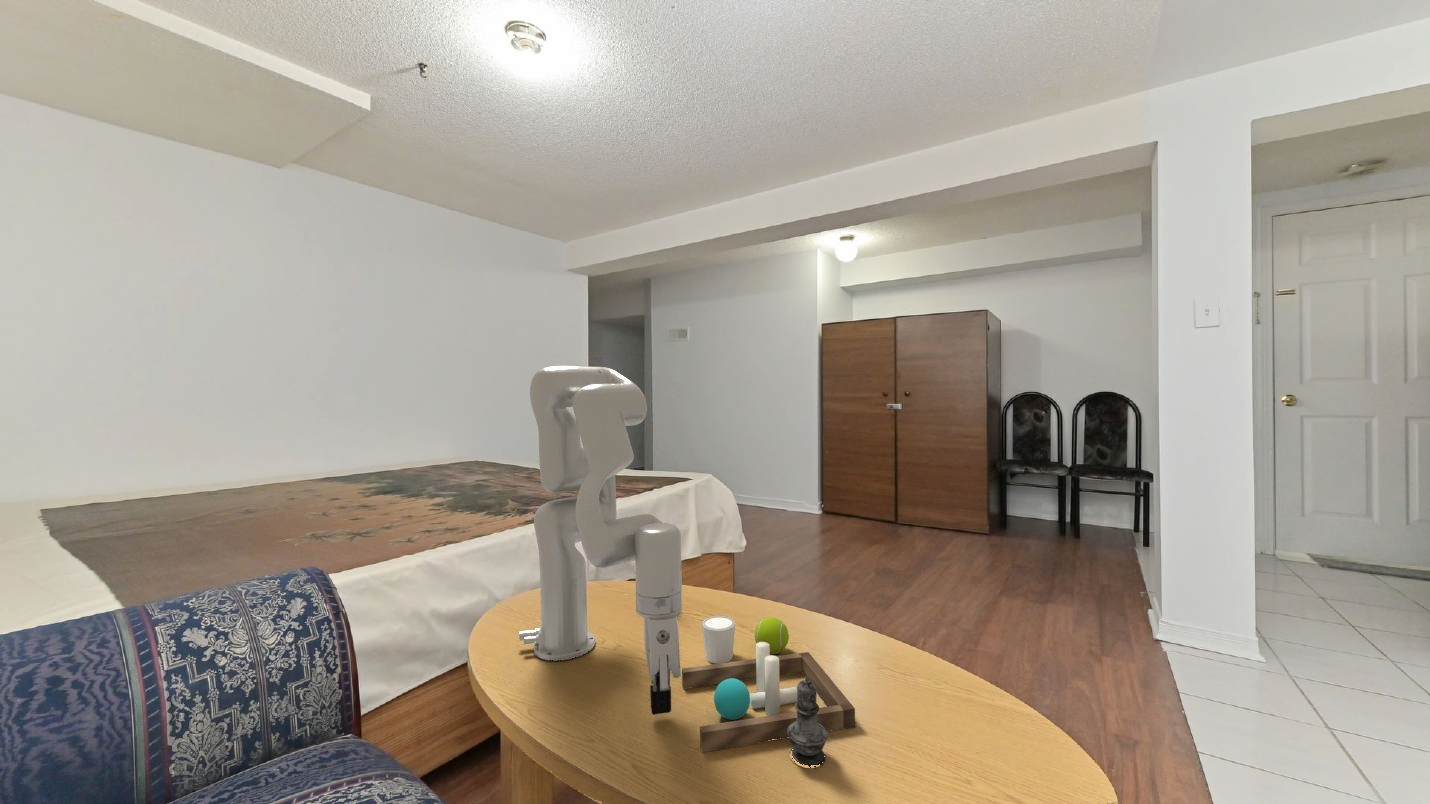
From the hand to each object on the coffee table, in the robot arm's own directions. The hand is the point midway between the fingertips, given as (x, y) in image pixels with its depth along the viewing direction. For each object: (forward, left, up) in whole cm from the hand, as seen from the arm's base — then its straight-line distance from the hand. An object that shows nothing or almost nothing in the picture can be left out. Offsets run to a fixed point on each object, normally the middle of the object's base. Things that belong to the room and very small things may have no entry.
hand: (661, 710), depth 87 cm
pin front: (+15, 0, -1) cm, 16 cm away
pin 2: (+18, -2, -2) cm, 19 cm away
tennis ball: (+25, +17, -2) cm, 30 cm away
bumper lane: (+17, 0, -2) cm, 18 cm away
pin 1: (+18, +3, -2) cm, 19 cm away
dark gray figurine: (+20, -14, -2) cm, 24 cm away
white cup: (+14, +18, -2) cm, 23 cm away
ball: (+12, -2, +2) cm, 12 cm away
